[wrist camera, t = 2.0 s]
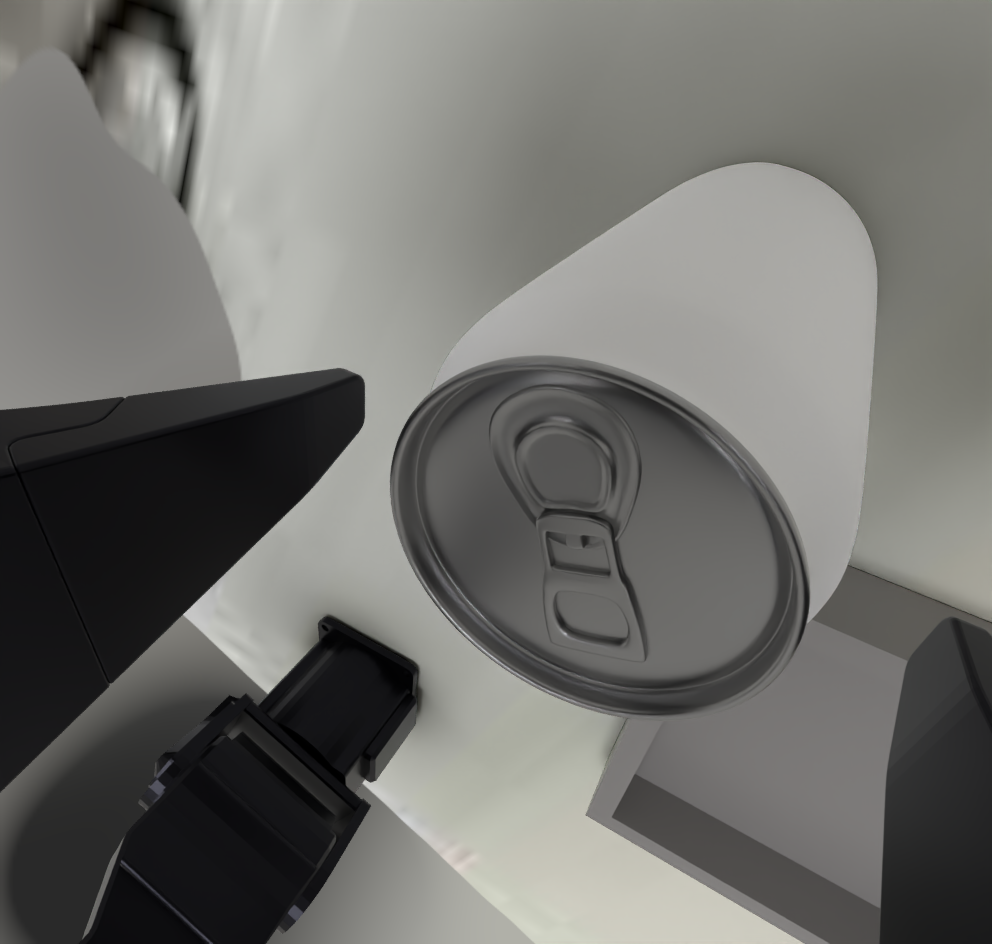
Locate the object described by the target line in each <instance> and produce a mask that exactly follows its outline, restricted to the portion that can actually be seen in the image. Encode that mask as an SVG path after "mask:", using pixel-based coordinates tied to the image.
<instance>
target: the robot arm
mask: <svg viewBox="0 0 992 944" xmlns="http://www.w3.org/2000/svg"><path fill="white" fill-rule="evenodd" d="M364 419H365V383H364V380H363V378H362V377H361V376H360V375H358V374H356V373H353V372H351V371H348V370H346V369H342V368H337V369H329V370H322V371H314V372H306V373H299V374H291V375H284V376H276V377H269V378H261V379H254V380H246V381H238V382H231V383H224V384H216V385H209V386H201V387H193V388H186V389H178V390H171V391H163V392H155V393H148V394H141V395H133V396H128V397H126V398H123V397H117V398H110V399H102V400H94V401H86V402H78V403H69V404H61V405H52V406H51V405H50V406H40V407H29V408H19V409H6V410H0V792H1V791H2V790H3V789H4V788H5V787H6V786H7V785H8V784H9V783H11V782H12V780H14V779H15V778H16V777H17V776H18V775H19V774H20V773H21V772H22V771H23V770H24V769H25V768H26V767H27V766H28V765H29V764H30V763H31V762H32V761H33V760H34V759H35V758H36V757H37V756H38V755H39V754H40V753H41V752H42V751H43V750H44V749H45V748H47V747H48V746H49V745H50V744H51V742H52V741H54V740H55V739H56V738H57V737H58V736H59V735H60V734H61V733H62V732H63V731H64V730H65V729H66V728H67V727H68V726H69V725H70V724H71V723H72V722H73V721H74V720H75V719H76V718H77V717H78V716H79V715H80V714H81V713H82V712H84V711H85V710H86V709H87V708H88V707H89V706H90V705H91V704H92V703H93V702H94V701H95V700H96V699H97V698H98V697H99V696H100V695H101V694H102V693H103V692H104V691H105V690H106V689H107V688H108V687H109V683H113V682H114V681H115V680H116V679H117V678H118V677H119V676H120V675H121V674H122V673H123V672H124V671H125V670H126V669H127V668H128V667H129V666H130V665H132V663H134V662H135V661H136V660H137V659H138V658H139V657H140V656H141V655H142V654H143V653H144V652H145V651H146V650H147V649H148V648H149V647H150V646H151V645H152V644H153V643H154V642H155V641H156V640H157V639H158V638H159V637H160V636H161V635H162V634H163V633H164V632H166V631H167V629H169V628H170V627H171V626H172V625H173V623H175V622H176V621H177V620H178V619H179V618H180V617H181V616H182V615H183V614H184V613H185V612H186V611H187V610H188V609H189V608H190V607H191V606H192V605H193V604H194V603H195V602H196V601H197V600H198V599H200V598H201V597H202V596H203V595H204V594H205V593H206V592H207V591H208V590H209V589H210V588H211V587H212V586H213V585H214V584H215V583H216V582H217V581H218V580H219V579H220V578H221V577H222V576H223V575H224V574H225V573H226V572H227V571H228V570H229V569H230V568H231V567H232V566H234V565H235V564H236V563H237V562H238V561H239V560H240V559H241V558H242V557H243V556H244V555H245V554H246V553H247V552H248V551H249V550H250V549H251V548H252V547H253V546H254V545H255V544H256V543H257V542H258V541H259V540H260V539H261V538H262V537H263V536H264V535H265V534H266V533H267V532H269V531H270V530H271V529H272V528H273V527H274V526H275V525H276V524H277V523H278V522H279V521H280V520H281V519H282V518H283V517H284V516H285V515H286V514H287V513H288V512H289V511H290V510H291V509H292V508H293V507H294V506H295V505H296V504H297V503H298V502H299V501H300V500H301V499H302V498H303V497H304V496H305V495H306V494H307V493H308V492H309V491H310V490H311V489H312V488H313V487H314V486H315V484H316V483H317V482H318V481H319V480H320V479H321V477H322V476H323V475H324V474H325V473H326V471H327V470H328V469H329V468H330V467H331V465H332V464H333V463H334V462H335V460H336V459H337V458H338V457H339V456H340V454H341V453H342V452H343V451H344V450H345V448H346V447H347V446H348V445H349V444H350V442H351V441H352V440H353V439H354V438H355V436H356V435H357V434H358V433H359V431H360V430H361V428H362V426H363V423H364ZM318 629H319V642H318V643H317V644H316V645H315V646H314V647H313V648H312V649H311V650H310V651H309V652H308V653H307V654H306V655H305V656H304V657H303V658H302V659H301V660H300V661H299V662H298V663H297V664H296V666H295V667H294V668H293V669H292V670H291V671H290V672H289V673H288V674H287V675H286V676H285V677H284V678H283V679H282V680H281V681H280V682H279V683H278V684H277V685H276V686H275V687H274V688H273V689H272V691H271V692H270V693H269V694H268V695H267V696H266V697H265V698H264V699H263V700H262V701H261V702H260V703H259V704H258V705H256V704H255V703H254V702H253V699H252V698H251V697H250V696H249V695H248V694H247V693H246V694H245V695H244V696H242V698H240V699H239V698H235V697H232V696H228V697H227V698H226V699H225V700H224V701H223V702H222V703H221V704H220V705H219V706H218V707H217V708H216V709H215V710H214V711H213V712H212V713H211V714H210V715H209V716H208V717H207V718H206V719H204V720H203V721H202V722H201V723H200V724H199V725H198V726H196V727H195V728H194V729H193V730H192V731H190V732H189V733H188V734H187V735H185V736H184V737H183V738H182V739H181V740H179V741H178V742H177V743H176V744H175V745H173V746H172V747H171V748H170V749H169V750H167V751H166V752H165V753H164V754H163V755H162V756H161V757H160V758H159V759H158V760H157V761H156V763H155V777H154V779H153V780H152V781H151V782H150V784H149V785H148V787H149V789H148V790H147V791H146V792H145V794H144V795H143V796H142V798H141V799H140V800H139V804H140V805H141V806H143V807H144V808H145V809H146V810H147V811H146V813H145V814H144V815H143V816H142V817H141V818H140V819H139V820H138V821H137V822H136V823H135V824H134V825H133V826H132V827H131V828H130V830H129V831H128V832H127V833H126V835H125V837H124V838H123V840H122V842H121V843H120V845H119V847H118V848H117V850H116V852H115V853H114V855H113V857H112V859H111V861H110V863H109V866H108V868H107V871H106V874H105V877H104V879H103V882H102V885H101V888H100V891H99V894H98V897H97V899H96V902H95V905H94V908H93V910H92V913H91V916H90V919H89V922H88V925H87V928H86V930H85V933H84V936H83V939H82V940H81V941H80V943H79V944H266V943H267V941H268V940H269V939H270V937H271V936H272V934H273V933H274V932H275V930H276V929H277V930H278V931H280V932H281V933H284V932H286V931H287V930H288V929H289V928H290V927H291V926H292V925H293V924H294V923H295V922H296V921H297V920H298V919H299V917H300V916H301V915H302V914H303V913H304V911H305V910H306V909H307V908H308V906H309V905H310V904H311V902H312V901H313V900H314V898H315V897H316V895H317V894H318V893H319V891H320V890H321V888H322V887H323V885H324V884H325V882H326V880H327V879H328V877H329V876H330V874H331V873H332V871H333V869H334V867H335V866H336V864H337V863H338V861H339V859H340V858H341V856H342V854H343V852H344V851H345V849H346V847H347V846H348V844H349V842H350V841H351V839H352V837H353V836H354V834H355V832H356V831H357V829H358V827H359V825H360V824H361V822H362V821H363V819H364V817H365V815H366V814H367V812H368V810H369V808H370V807H371V805H370V804H369V803H368V802H366V800H364V799H360V798H359V797H358V796H357V795H356V794H355V792H356V791H357V790H358V788H359V787H360V785H361V784H362V783H363V781H364V780H365V779H366V780H367V781H369V782H370V783H371V782H374V781H376V780H377V778H378V777H379V776H380V774H381V773H382V771H383V770H384V768H385V767H386V766H387V764H388V763H389V761H390V760H391V758H392V757H393V756H394V754H395V753H396V751H397V750H398V749H399V747H400V746H401V744H402V743H403V741H404V740H405V739H406V737H407V736H408V734H409V733H410V731H411V730H412V729H413V727H414V726H415V724H416V712H417V698H416V686H417V674H418V672H417V669H416V667H415V666H414V665H413V664H411V663H410V662H408V661H406V660H404V659H402V658H401V657H399V656H397V655H395V654H393V653H392V652H390V651H388V650H386V649H384V648H383V647H381V646H379V645H377V644H376V643H374V642H372V641H370V640H368V639H367V638H365V637H363V636H361V635H359V634H358V633H356V632H354V631H352V630H350V629H349V628H347V627H345V626H343V625H341V624H340V623H338V622H336V621H334V620H332V619H331V618H329V617H323V618H322V619H321V620H320V621H319V622H318ZM228 736H229V737H231V738H232V739H233V740H231V739H230V738H229V737H228ZM879 944H992V635H991V634H990V633H989V632H988V631H987V630H986V629H984V628H982V627H980V626H977V625H975V624H972V623H970V622H967V621H965V620H962V619H960V618H958V617H955V616H951V617H946V618H945V619H943V620H942V621H941V622H940V623H939V624H938V625H937V626H936V627H935V628H934V629H933V630H932V632H931V633H930V634H929V635H928V636H927V637H926V638H925V639H924V641H923V642H922V643H921V644H920V645H919V646H918V647H917V649H916V650H915V651H914V652H913V653H912V655H911V656H910V658H909V660H908V662H907V665H906V668H905V672H904V677H903V683H902V688H901V693H900V699H899V704H898V710H897V715H896V720H895V726H894V731H893V737H892V742H891V747H890V753H889V759H888V766H887V773H886V786H885V808H884V832H883V856H882V880H881V904H880V928H879Z"/></svg>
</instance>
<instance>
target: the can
mask: <svg viewBox="0 0 992 944" xmlns="http://www.w3.org/2000/svg"><path fill="white" fill-rule="evenodd" d="M877 290H878V282H877V266H876V259H875V255H874V251H873V247H872V244H871V241H870V238H869V236H868V233H867V231H866V229H865V227H864V225H863V223H862V221H861V220H860V218H859V217H858V215H857V214H856V212H855V211H854V210H853V208H852V207H851V206H850V205H849V204H848V203H847V202H846V200H845V199H844V198H843V197H842V196H840V195H839V194H838V193H837V192H836V191H835V190H833V189H832V188H831V187H829V186H828V185H826V184H825V183H823V182H822V181H820V180H818V179H817V178H815V177H813V176H811V175H808V174H806V173H804V172H801V171H799V170H796V169H793V168H790V167H786V166H783V165H778V164H774V163H765V162H751V163H741V164H735V165H730V166H726V167H722V168H719V169H715V170H712V171H709V172H707V173H704V174H702V175H699V176H697V177H694V178H692V179H690V180H688V181H686V182H684V183H682V184H680V185H679V186H677V187H675V188H673V189H672V190H670V191H668V192H667V193H665V194H663V195H662V196H660V197H659V198H657V199H656V200H654V201H652V202H651V203H649V204H648V205H646V206H645V207H643V208H642V209H640V210H638V211H637V212H635V213H634V214H632V215H631V216H629V217H628V218H626V219H625V220H623V221H622V222H620V223H618V224H617V225H615V226H614V227H612V228H611V229H609V230H608V231H606V232H605V233H603V234H602V235H600V236H599V237H597V238H596V239H594V240H593V241H591V242H590V243H588V244H587V245H585V246H584V247H582V248H580V249H579V250H577V251H576V252H574V253H573V254H571V255H570V256H568V257H567V258H565V259H564V260H562V261H561V262H559V263H558V264H556V265H555V266H553V267H552V268H550V269H549V270H547V271H546V272H544V273H543V274H542V275H540V276H539V277H537V278H536V279H534V280H533V281H531V282H530V283H528V284H527V285H525V286H524V287H522V288H521V289H520V290H518V291H517V292H515V293H514V294H512V295H511V296H509V297H508V298H507V299H505V300H504V301H503V302H501V303H500V304H499V305H497V306H496V307H495V308H493V309H492V310H491V311H489V312H488V313H487V314H485V315H484V316H483V317H482V318H481V319H480V320H479V321H478V322H477V323H476V324H475V325H474V326H472V327H471V328H470V329H469V330H468V331H467V332H466V333H465V334H464V335H463V337H462V338H461V339H460V340H459V341H458V342H457V344H456V345H455V346H454V347H453V349H452V350H451V352H450V353H449V354H448V356H447V358H446V359H445V361H444V363H443V364H442V366H441V368H440V370H439V372H438V374H437V377H436V379H435V381H434V383H433V386H432V388H431V391H430V394H429V395H428V396H426V397H425V398H424V399H423V401H422V402H421V403H420V404H419V405H418V406H417V407H416V409H415V410H414V411H413V413H412V414H411V416H410V417H409V419H408V420H407V422H406V424H405V426H404V428H403V429H402V432H401V434H400V436H399V439H398V441H397V444H396V448H395V451H394V455H393V460H392V466H391V475H390V495H391V505H392V512H393V517H394V521H395V525H396V529H397V532H398V536H399V539H400V542H401V544H402V547H403V549H404V552H405V554H406V556H407V559H408V561H409V563H410V565H411V567H412V569H413V571H414V572H415V574H416V576H417V578H418V579H419V581H420V583H421V584H422V586H423V587H424V589H425V590H426V592H427V593H428V595H429V596H430V598H431V599H432V600H433V602H434V603H435V604H436V606H437V607H438V608H439V609H440V611H441V612H442V613H443V614H444V615H445V617H446V618H447V619H448V620H449V621H450V622H451V623H452V624H453V625H454V627H455V628H456V629H457V630H458V631H459V632H460V633H461V634H462V635H463V636H464V637H465V638H467V639H468V640H469V641H470V642H471V643H472V644H473V645H474V646H475V647H477V648H478V649H479V650H480V651H481V652H483V653H484V654H485V655H486V656H488V657H489V658H490V659H491V660H493V661H494V662H495V663H497V664H498V665H500V666H501V667H502V668H504V669H505V670H507V671H508V672H510V673H511V674H513V675H515V676H516V677H518V678H520V679H521V680H523V681H525V682H526V683H528V684H530V685H532V686H534V687H536V688H537V689H539V690H541V691H543V692H545V693H548V694H550V695H552V696H554V697H556V698H559V699H561V700H564V701H566V702H569V703H571V704H574V705H577V706H580V707H583V708H586V709H589V710H592V711H596V712H600V713H604V714H608V715H613V716H617V717H623V718H630V719H638V720H650V721H674V720H686V719H693V718H699V717H704V716H708V715H713V714H716V713H719V712H722V711H725V710H728V709H731V708H733V707H735V706H738V705H740V704H742V703H744V702H745V701H747V700H749V699H751V698H752V697H754V696H755V695H757V694H758V693H760V692H761V691H763V690H764V689H765V688H766V687H768V686H769V685H770V684H771V683H772V682H773V681H774V680H775V679H776V678H777V677H778V676H779V675H780V674H781V673H782V672H783V670H784V669H785V668H786V666H787V665H788V664H789V662H790V661H791V659H792V657H793V656H794V654H795V652H796V650H797V649H798V646H799V644H800V642H801V640H802V637H803V634H804V631H805V627H806V624H807V623H808V622H809V621H810V620H811V619H812V618H813V617H814V616H815V615H816V614H817V613H818V612H819V611H820V609H821V608H822V607H823V606H824V605H825V603H826V602H827V601H828V600H829V598H830V597H831V596H832V594H833V592H834V591H835V589H836V588H837V586H838V584H839V582H840V581H841V579H842V577H843V575H844V572H845V570H846V568H847V565H848V562H849V560H850V556H851V553H852V550H853V546H854V543H855V540H856V536H857V531H858V526H859V519H860V512H861V505H862V498H863V488H864V477H865V466H866V455H867V442H868V430H869V417H870V404H871V390H872V376H873V362H874V346H875V331H876V314H877Z"/></svg>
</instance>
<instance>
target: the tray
mask: <svg viewBox="0 0 992 944" xmlns="http://www.w3.org/2000/svg"><path fill="white" fill-rule="evenodd" d="M951 616H955V617H958V618H960V619H962V620H965V621H967V622H970V623H972V624H975V625H977V626H980V627H982V628H984V629H986V630H987V631H988V632H989V633H990V634H991V635H992V623H990V622H987V621H985V620H982V619H980V618H977V617H975V616H972V615H970V614H967V613H965V612H962V611H960V610H957V609H955V608H952V607H950V606H947V605H945V604H942V603H940V602H937V601H935V600H932V599H930V598H928V597H925V596H923V595H920V594H918V593H915V592H913V591H910V590H908V589H905V588H903V587H900V586H898V585H895V584H893V583H890V582H888V581H885V580H883V579H880V578H878V577H875V576H873V575H870V574H868V573H865V572H863V571H860V570H858V569H855V568H853V567H850V566H848V565H847V568H846V570H845V572H844V575H843V577H842V579H841V581H840V582H839V584H838V586H837V588H836V589H835V591H834V592H833V594H832V596H831V597H830V598H829V600H828V601H827V602H826V603H825V605H824V606H823V607H822V608H821V609H820V611H819V612H818V613H817V614H816V615H815V616H814V617H813V618H812V619H811V620H810V621H809V622H808V623H807V624H806V627H805V631H804V634H803V637H802V640H801V642H800V644H799V646H798V649H797V650H796V652H795V654H794V656H793V657H792V659H791V661H790V662H789V664H788V665H787V666H786V668H785V669H784V670H783V672H782V673H781V674H780V675H779V676H778V677H777V678H776V679H775V680H774V681H773V682H772V683H771V684H770V685H769V686H768V687H766V688H765V689H764V690H763V691H761V692H760V693H758V694H757V695H755V696H754V697H752V698H751V699H749V700H747V701H745V702H744V703H742V704H740V705H738V706H735V707H733V708H731V709H728V710H725V711H722V712H719V713H716V714H713V715H708V716H704V717H699V718H693V719H686V720H674V721H650V720H638V719H630V718H627V719H626V721H625V723H624V726H623V728H622V730H621V732H620V734H619V736H618V738H617V741H616V743H615V745H614V747H613V749H612V751H611V753H610V756H609V758H608V760H607V763H606V765H605V768H604V770H603V773H602V775H601V778H600V780H599V783H598V785H597V788H596V790H595V793H594V795H593V798H592V800H591V803H590V805H589V808H588V810H587V813H586V816H588V817H590V818H591V819H593V820H595V821H596V822H598V823H600V824H602V825H603V826H605V827H607V828H608V829H610V830H612V831H614V832H615V833H617V834H619V835H620V836H622V837H624V838H625V839H627V840H629V841H631V842H632V843H634V844H636V845H637V846H639V847H641V848H643V849H644V850H646V851H648V852H649V853H651V854H653V855H654V856H656V857H658V858H660V859H661V860H663V861H665V862H666V863H668V864H670V865H672V866H673V867H675V868H677V869H678V870H680V871H682V872H683V873H685V874H687V875H689V876H690V877H692V878H694V879H695V880H697V881H699V882H701V883H702V884H704V885H706V886H707V887H709V888H711V889H712V890H714V891H716V892H718V893H719V894H721V895H723V896H724V897H726V898H728V899H730V900H731V901H733V902H735V903H736V904H738V905H740V906H741V907H743V908H745V909H747V910H748V911H750V912H752V913H753V914H755V915H757V916H759V917H760V918H762V919H764V920H765V921H767V922H769V923H771V924H772V925H774V926H776V927H777V928H779V929H781V930H782V931H784V932H786V933H788V934H789V935H791V936H793V937H794V938H796V939H798V940H800V941H801V942H803V943H805V944H879V928H880V904H881V880H882V856H883V832H884V808H885V786H886V773H887V766H888V759H889V753H890V747H891V742H892V737H893V731H894V726H895V720H896V715H897V710H898V704H899V699H900V693H901V688H902V683H903V677H904V672H905V668H906V665H907V662H908V660H909V658H910V656H911V655H912V653H913V652H914V651H915V650H916V649H917V647H918V646H919V645H920V644H921V643H922V642H923V641H924V639H925V638H926V637H927V636H928V635H929V634H930V633H931V632H932V630H933V629H934V628H935V627H936V626H937V625H938V624H939V623H940V622H941V621H942V620H943V619H945V618H946V617H951Z"/></svg>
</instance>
